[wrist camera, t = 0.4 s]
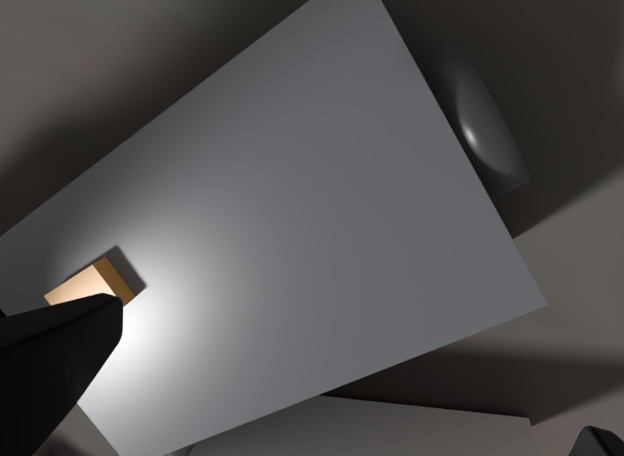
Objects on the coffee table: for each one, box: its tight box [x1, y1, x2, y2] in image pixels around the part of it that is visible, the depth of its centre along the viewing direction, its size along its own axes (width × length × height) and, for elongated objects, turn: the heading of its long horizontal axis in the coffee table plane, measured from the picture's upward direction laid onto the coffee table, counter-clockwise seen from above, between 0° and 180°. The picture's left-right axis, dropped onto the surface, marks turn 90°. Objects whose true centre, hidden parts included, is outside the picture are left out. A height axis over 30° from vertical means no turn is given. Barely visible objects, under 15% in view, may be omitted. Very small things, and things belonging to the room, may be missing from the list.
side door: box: [168, 395, 541, 456], centre depth 22 cm, size 17×2×6 cm, turn 93°
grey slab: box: [0, 0, 548, 456], centre depth 19 cm, size 21×12×7 cm, turn 123°
